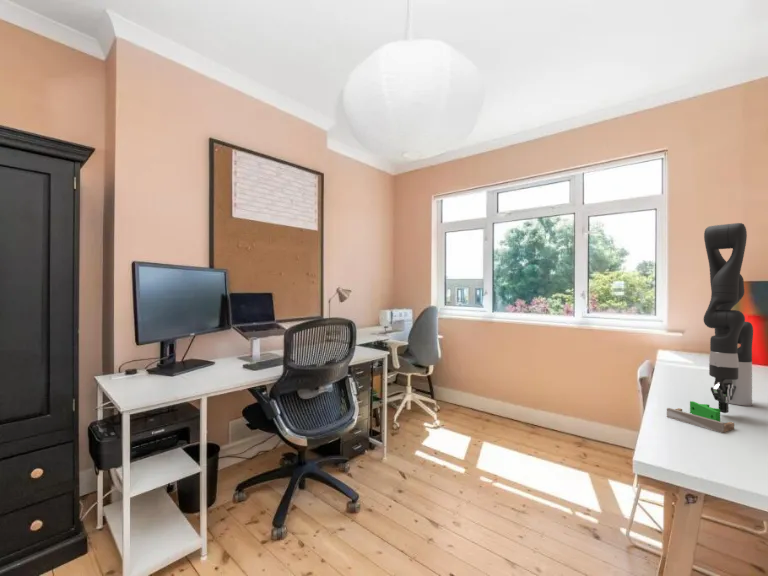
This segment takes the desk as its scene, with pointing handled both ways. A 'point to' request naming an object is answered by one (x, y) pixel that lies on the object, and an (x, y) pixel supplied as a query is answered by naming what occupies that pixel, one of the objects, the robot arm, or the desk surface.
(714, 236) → the robot arm
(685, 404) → the desk surface
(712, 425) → the channel stop
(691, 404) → the pipe clamp
